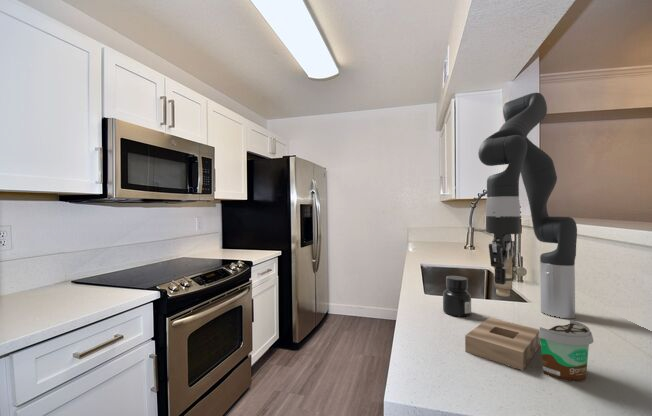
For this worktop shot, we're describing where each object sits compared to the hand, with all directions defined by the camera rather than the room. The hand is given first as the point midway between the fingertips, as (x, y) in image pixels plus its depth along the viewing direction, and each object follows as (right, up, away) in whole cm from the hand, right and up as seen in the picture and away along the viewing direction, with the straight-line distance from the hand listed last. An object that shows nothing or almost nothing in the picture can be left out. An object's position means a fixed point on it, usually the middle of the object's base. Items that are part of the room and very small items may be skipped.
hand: (502, 281), depth 73 cm
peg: (0, -3, 0) cm, 3 cm away
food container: (+7, -17, -13) cm, 22 cm away
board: (0, -17, 0) cm, 17 cm away
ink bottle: (0, -17, +26) cm, 31 cm away
